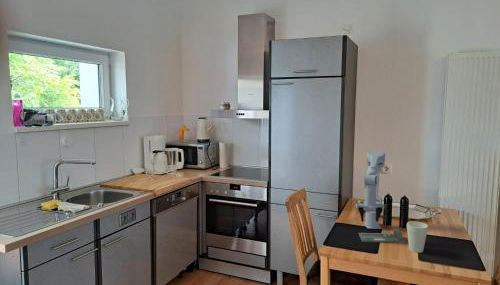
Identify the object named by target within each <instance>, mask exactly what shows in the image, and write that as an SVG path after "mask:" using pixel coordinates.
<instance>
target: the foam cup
mask: <svg viewBox="0 0 500 285" xmlns="http://www.w3.org/2000/svg"><path fill="white" fill-rule="evenodd" d="M406 230H407V231H406V232H407V241H408V250H409V251H411V252H414V253H417V254H419V253H423V252H424V248H425V243H426V240H427V235H428V232H429V225H428V224H427V223H424V222H421V221H416V220H414V221H408V222H406Z"/></svg>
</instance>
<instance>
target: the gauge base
mask: <svg viewBox="0 0 500 285" xmlns="http://www.w3.org/2000/svg"><path fill="white" fill-rule="evenodd" d="M358 234H359V235H358V237H359V238H360V240H361V242H362V243H381V244H382V243H383V244H387V243H391V244H392V243H394V244H407V240H406V239H405V238H404V237H403V234H404V233H403V231H401V229H400V228H392V233H389V234H390V237H383V236H382V232H381V233H378V232H377V233H372V232H371V233H369V232H368V233H367V232H358Z"/></svg>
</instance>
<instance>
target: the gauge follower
mask: <svg viewBox="0 0 500 285" xmlns="http://www.w3.org/2000/svg"><path fill="white" fill-rule="evenodd" d="M381 233H382V236H383V237H390V234H391V233H389V232H388V230H387V231H386V230H382V231H381Z"/></svg>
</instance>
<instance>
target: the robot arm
mask: <svg viewBox="0 0 500 285" xmlns="http://www.w3.org/2000/svg"><path fill="white" fill-rule="evenodd" d="M385 161H386V153H385V152H378V151H367V153H366V162H367V166H368V168H367V170H366V174H364V178H363V181H364V182H363V183H364V202H363V203H356V204H355V208H356V209H357V210H358V212H359V215H360V220H361V222H363V225H364V226H365V227H366V229H370V230H371V229H373V230H375V229H376V230H377V229H378V230H381V229H382V227H381V225H380V217H381V214H382V213H383V211H384V209H385V204H383V199H382V197H381V196H379V185H380V184H379V183H380V172H381V169H382V168H384V167H385ZM364 214H365V215H364Z"/></svg>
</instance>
